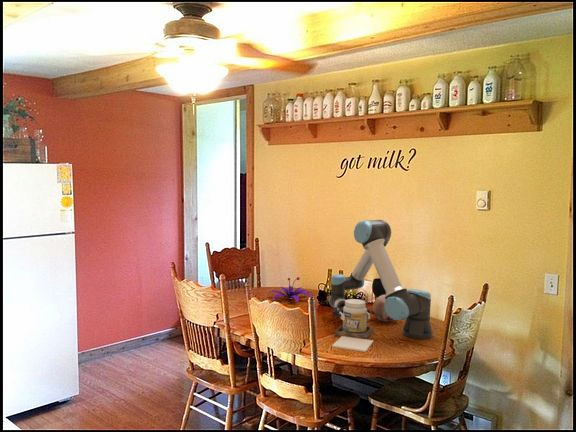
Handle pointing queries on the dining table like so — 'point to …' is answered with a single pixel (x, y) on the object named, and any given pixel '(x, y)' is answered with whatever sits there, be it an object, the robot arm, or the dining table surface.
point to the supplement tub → (355, 316)
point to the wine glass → (378, 288)
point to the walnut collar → (354, 335)
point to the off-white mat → (353, 343)
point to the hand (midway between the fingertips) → (356, 317)
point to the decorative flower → (291, 292)
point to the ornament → (381, 309)
